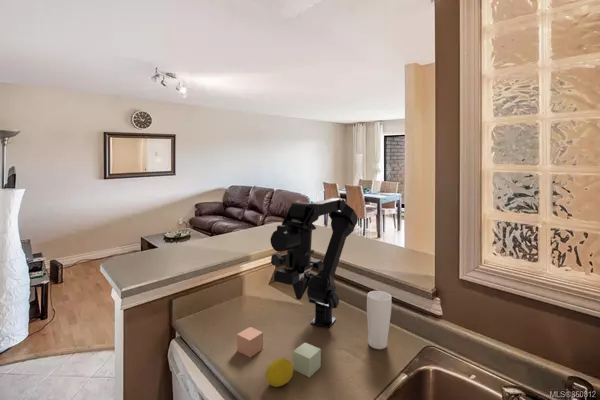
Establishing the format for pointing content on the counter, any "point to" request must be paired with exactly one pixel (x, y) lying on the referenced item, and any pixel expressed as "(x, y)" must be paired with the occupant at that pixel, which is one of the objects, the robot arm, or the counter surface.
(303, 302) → the counter surface
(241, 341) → the terracotta block
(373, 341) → the drinking glass
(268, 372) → the lemon
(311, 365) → the sage block
